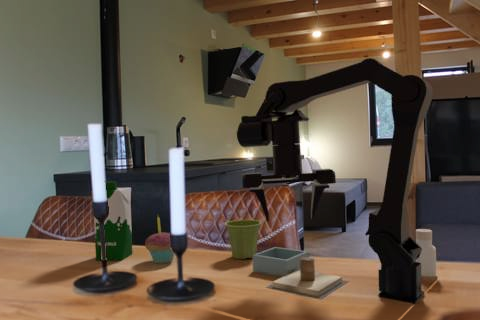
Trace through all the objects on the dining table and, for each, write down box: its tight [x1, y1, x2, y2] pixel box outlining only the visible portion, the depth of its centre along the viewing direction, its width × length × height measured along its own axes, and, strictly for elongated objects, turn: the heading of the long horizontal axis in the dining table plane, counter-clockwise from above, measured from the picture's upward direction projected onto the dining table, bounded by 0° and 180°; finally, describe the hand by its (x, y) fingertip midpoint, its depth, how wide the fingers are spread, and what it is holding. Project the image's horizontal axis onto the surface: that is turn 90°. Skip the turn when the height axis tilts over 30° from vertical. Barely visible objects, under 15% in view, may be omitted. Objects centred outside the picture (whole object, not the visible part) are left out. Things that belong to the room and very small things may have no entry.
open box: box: [252, 246, 310, 278], centre depth 98 cm, size 9×9×4 cm
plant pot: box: [224, 219, 262, 260], centre depth 111 cm, size 9×9×9 cm
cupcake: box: [144, 215, 175, 264], centre depth 110 cm, size 9×8×12 cm
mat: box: [265, 279, 350, 300], centre depth 87 cm, size 12×12×1 cm
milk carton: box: [91, 180, 133, 261], centre depth 115 cm, size 9×9×20 cm
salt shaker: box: [415, 228, 437, 278], centre depth 91 cm, size 4×4×10 cm
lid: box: [272, 257, 343, 296], centre depth 87 cm, size 10×10×5 cm
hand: (290, 219), depth 91 cm, fingers open, 9 cm apart
